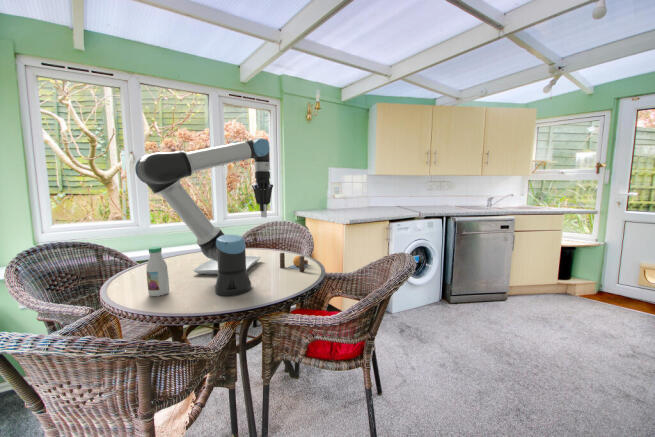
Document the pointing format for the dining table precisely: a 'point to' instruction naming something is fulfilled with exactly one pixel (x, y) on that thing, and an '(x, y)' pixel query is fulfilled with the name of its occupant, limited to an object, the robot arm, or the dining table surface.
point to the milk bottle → (157, 273)
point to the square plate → (212, 265)
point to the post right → (301, 264)
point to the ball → (296, 261)
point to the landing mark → (296, 267)
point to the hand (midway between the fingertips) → (263, 217)
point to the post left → (282, 260)
